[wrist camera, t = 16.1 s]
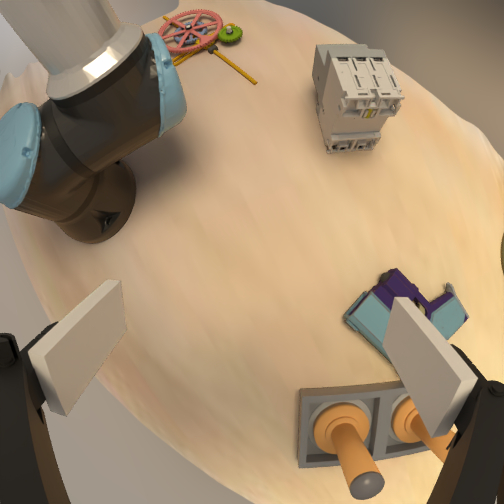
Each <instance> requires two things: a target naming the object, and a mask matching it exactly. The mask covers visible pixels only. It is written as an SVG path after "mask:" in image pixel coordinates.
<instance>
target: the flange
mask: <svg viewBox="0 0 504 504" xmlns="http://www.w3.org/2000/svg"><path fill="white" fill-rule="evenodd" d="M501 264H502V270H503V274H504V234H503V238H502V243H501Z"/></svg>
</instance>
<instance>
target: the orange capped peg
mask: <svg viewBox="0 0 504 504" xmlns="http://www.w3.org/2000/svg"><path fill="white" fill-rule="evenodd" d="M391 428H392V430H393V432H394V433H395V434H396V436H397V437H398V438H399V439H400V440H401V441H403V442H406V443H414V442H418V441H421V440H422V441H423V442H424V444H425V445H426V446H427V447H428V448H429V449H430V450H431V451H432V452H433V453H434V454H435V455H436V456H437V457H438V458H439V459H440V460H441V461H442V462H443V463H444V462H445V460H446V457H447V454H448V452H449V449H450V448H449V449H448V450H446V448H447V446H448V445H449V443H450V442H451V440H452V439H453V437H454V435H455V433H454V432H453V431H451V430H450V431H449V433H448V434H447V435H444V436H439V437H435V438H431V437H430V435H429V433H428V431H427V429H426V427H425V425H424V423H423V421H422V419H421V417H420V415H419V413H418V411H417V409H416V407H415V405H414V403H413V401H412V399H411V397H410V396H407V397H405V398H404V399H403V400H402V401H401V402H400V403H399V404H398V405H397V406H396V408H395V409H394V411H393V414H392V417H391Z"/></svg>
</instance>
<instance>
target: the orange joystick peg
mask: <svg viewBox="0 0 504 504" xmlns="http://www.w3.org/2000/svg"><path fill="white" fill-rule="evenodd" d="M369 426H370V425H369V420H368V418H367V416H366V415H365V413H364V412H363V410H362V409H361V408H360V407H359V406H357V405H355V404H353V403H349V402H339V403H335V404H332V405H330V406H328V407H326V408H325V409H323V410H322V411H321V412H320V413H319V414H318V416H317V417H316V419H315V421H314V424H313V434H314V438H315V441H316V443H317V445H318V446H319V448H320V449H322V450H323V451H325V452H327V453H330V454H337V456H338V459H339V462H340V464H341V467H342V470H343V473H344V476H345V479H346V481H347V484H348V487H349V490H350V493H351V495H352V496H353V497H354V498H355V499H359V500H365V499H369V498H372V497H374V496H376V495H377V494H378V493H379V492H380V491H381V490H382V489H383V487H384V483H385V481H384V478H383V477H382V475H381V473H380V471H379V470H378V468H377V466H376V464H375V462H374V461H373V459H372V457H371V455H370V453H369V452H368V450H367V448H366V446H365V445H364V443H363V442H364V440H365V439H366V437H367V435H368V433H369Z"/></svg>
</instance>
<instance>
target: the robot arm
mask: <svg viewBox="0 0 504 504" xmlns="http://www.w3.org/2000/svg"><path fill="white" fill-rule="evenodd" d="M0 13H1V14H2V15H3V17H4V18H5V19H6V21H7V22H8V23H9V24H10V26H11V27H12V28H13V30H14V31H15V32H16V33H17V35H18V36H19V37H20V38H21V39H22V41H23V42H24V43H25V45H26V46H27V47H28V48H29V49H30V51H31V52H32V53H33V54H34V56H35V57H36V58H37V59H38V61H39V62H40V63H41V64H42V65H43V67H44V68H45V69H46V70H47V71H48V73H49V77H48V82H47V88H46V93H47V95H48V96H49V98H50V99H49V100H48V101H46V102H45V103H44V104H42V105H41V106H40V107H37V106H36V105H35V104H33V103H28V102H25V103H19V104H17V105H15V106H14V107H12V108H11V109H10V110H9V111H8V112H7V113H6V114H5V115H4V116H3V117H2V119H1V120H0V203H2V204H4V205H5V206H6V207H8V208H10V209H15V210H18V211H22V212H25V213H28V214H31V215H35V216H38V217H41V218H45V219H48V220H51V221H54V222H55V223H56V224H57V225H58V226H59V227H60V228H61V229H62V230H63V231H64V232H65V233H66V234H67V235H68V236H70V237H71V238H73V239H75V240H78V241H81V242H85V243H98V242H102V241H104V240H107V239H108V238H110V237H112V236H113V235H114V234H115V233H117V232H118V231H119V230H120V229H121V227H122V226H123V225H124V224H125V222H126V221H127V219H128V217H129V215H130V213H131V211H132V208H133V205H134V201H135V194H136V186H135V180H134V176H133V174H132V171H131V170H130V168H129V167H128V165H127V164H126V163H125V162H124V161H122V160H121V158H123V157H125V156H126V155H128V154H130V153H131V152H133V151H135V150H136V149H138V148H140V147H141V146H143V145H145V144H146V143H148V142H150V141H152V140H153V139H155V138H159V137H160V136H162V134H163V133H164V132H166V131H167V130H169V129H171V128H172V127H174V126H176V125H177V124H179V123H180V122H181V121H182V120H183V118H184V117H185V115H186V111H187V106H186V100H185V96H184V92H183V89H182V85H181V82H180V79H179V76H178V74H177V71H176V68H175V66H174V65H173V62H172V59H171V56H170V53H169V51H168V49H167V46H166V44H165V42H164V40H163V39H162V37H161V36H160V35H159V34H157V33H152V34H146V35H145V34H144V33H143V31H142V29H141V27H140V26H139V25H137V24H132V23H126V22H120V21H119V19H118V17H117V15H116V14H115V12H114V10H113V8H112V7H111V5H110V3H109V1H108V0H0ZM126 331H127V327H126V320H125V312H124V304H123V296H122V287H121V281H118V280H109V279H107V280H106V281H105V282H104V283H102V284H101V285H100V286H99V287H98V288H97V289H95V290H94V291H93V292H92V293H91V294H90V295H89V296H87V297H86V298H85V299H84V300H83V301H82V302H81V303H79V304H78V305H77V306H76V307H75V308H74V309H73V310H72V311H71V312H69V313H68V314H67V315H66V316H65V317H64V318H63V319H62V320H61V321H60V322H55V323H53V324H51V325H49V326H47V327H46V328H45V329H44V330H43V331H42V332H41V334H38V335H37V336H36V337H35V339H33V340H32V341H31V342H30V343H29V344H28V345H27V346H25V348H23V349H22V350H21V351H19V348H18V346H17V342H16V340H15V336H13V335H12V334H9V333H0V504H71V502H70V500H69V498H68V495H67V492H66V489H65V486H64V483H63V480H62V477H61V474H60V471H59V468H58V465H57V462H56V459H55V455H54V451H53V448H52V444H51V440H50V437H49V432H48V428H47V424H46V419H45V415H44V411H43V409H42V407H41V405H42V404H43V403H44V401H45V400H46V401H47V404H48V406H49V408H50V411H52V412H55V413H57V414H60V415H63V416H67V415H68V414H69V412H70V411H71V409H72V407H73V406H74V405H75V403H76V402H77V400H78V399H79V397H80V396H81V394H82V393H83V391H84V390H85V388H86V387H87V386H88V384H89V383H90V381H91V380H92V378H93V377H94V376H95V374H96V373H97V371H98V370H99V368H100V367H101V366H102V364H103V363H104V361H105V360H106V358H107V357H108V356H109V354H110V353H111V351H112V350H113V349H114V347H115V346H116V345H117V343H118V342H119V340H120V339H121V338H122V336H123V335H124V334H125V332H126ZM382 346H383V348H384V350H385V351H386V353H387V355H388V357H389V359H390V360H391V362H392V364H393V366H394V368H395V369H396V371H397V373H398V375H399V377H400V379H401V380H402V382H403V384H404V386H405V388H406V390H407V392H408V394H409V396H410V397H411V399H412V401H413V403H414V405H415V407H416V409H417V411H418V413H419V415H420V417H421V419H422V421H423V423H424V425H425V427H426V429H427V431H428V433H429V435H430V437H431V438H435V437H439V436H444V435H447V434H448V433H449V431H450V429H451V428H452V426H453V424H455V426H456V427H457V429H458V431H457V432H456V434H455V435H454V437H453V439H452V440H451V442H450V443H449V445H448V446H447V448H446V450H448V449H449V448H450V449H449V452H448V454H447V457H446V460H445V462H444V465H443V467H442V470H441V472H440V475H439V477H438V479H437V482H436V484H435V486H434V489H433V491H432V493H431V495H430V497H429V499H428V502H427V504H495V500H496V496H497V504H504V384H502V383H500V382H498V381H493V380H491V381H487V380H486V379H485V377H484V376H483V375H482V374H481V372H480V371H479V370H478V369H477V368H476V366H475V365H474V364H472V362H471V361H470V359H469V358H467V356H466V355H465V354H464V352H463V351H462V350H461V349H459V348H458V347H456V346H455V345H453V344H449V343H448V341H447V340H446V339H445V338H444V337H443V336H442V335H441V333H440V332H439V331H438V330H437V329H436V328H435V327H434V325H433V324H432V323H431V322H430V321H429V320H428V319H427V318H426V316H425V315H424V314H423V313H422V312H421V311H420V310H419V309H418V308H417V307H416V306H415V304H414V303H413V302H412V301H411V300H410V299H409V298H408V297H394V301H393V305H392V309H391V313H390V317H389V321H388V325H387V329H386V333H385V337H384V340H383V344H382Z"/></svg>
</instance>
